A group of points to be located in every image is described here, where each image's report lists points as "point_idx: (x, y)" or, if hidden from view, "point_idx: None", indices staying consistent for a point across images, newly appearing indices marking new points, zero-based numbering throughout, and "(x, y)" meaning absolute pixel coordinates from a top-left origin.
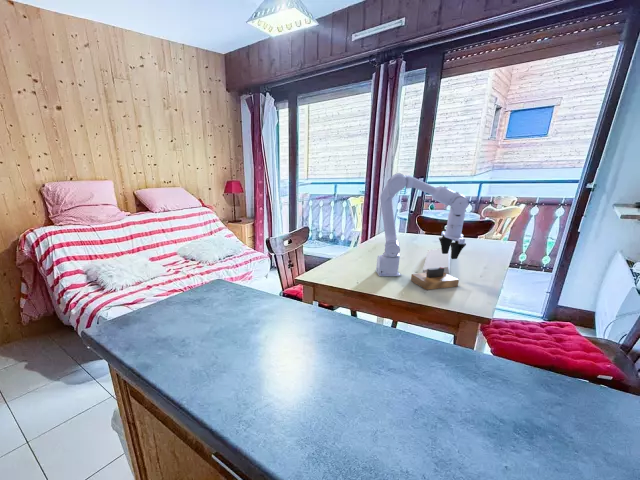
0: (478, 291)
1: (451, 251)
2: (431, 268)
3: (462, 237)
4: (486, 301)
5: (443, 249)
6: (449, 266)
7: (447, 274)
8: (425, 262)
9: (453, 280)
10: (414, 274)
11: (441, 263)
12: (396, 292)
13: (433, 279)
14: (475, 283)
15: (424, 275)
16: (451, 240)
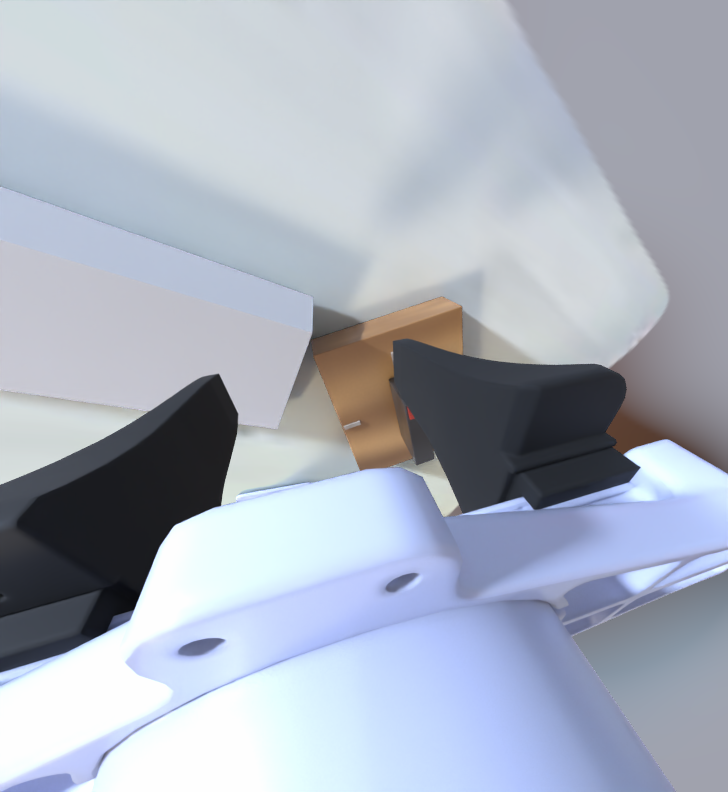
0: (522, 213)
1: (430, 435)
2: (416, 451)
3: (682, 558)
4: (613, 238)
5: (227, 446)
6: (126, 242)
7: (376, 341)
8: (90, 399)
9: (462, 337)
10: (368, 468)
11: (182, 338)
12: (449, 485)
13: None
14: (415, 154)
15: (382, 439)
16: (119, 488)
